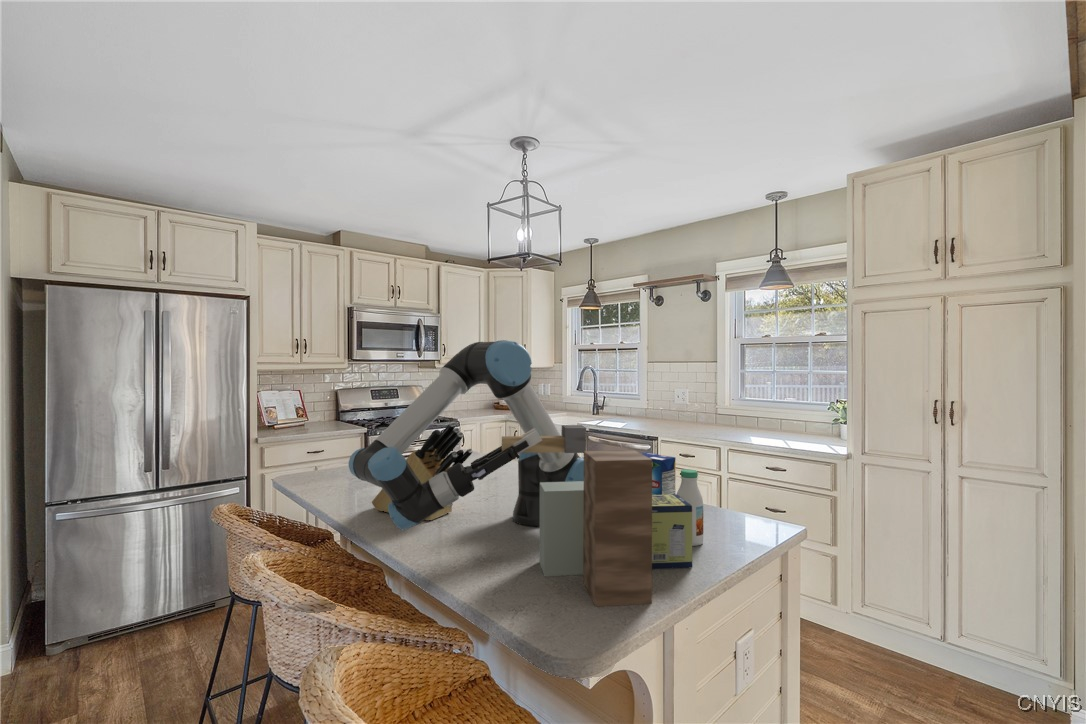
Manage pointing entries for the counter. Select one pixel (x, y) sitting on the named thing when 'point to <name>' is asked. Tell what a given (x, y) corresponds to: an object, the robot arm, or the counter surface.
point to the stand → (617, 527)
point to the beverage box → (662, 474)
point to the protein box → (671, 532)
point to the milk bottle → (693, 503)
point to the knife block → (431, 463)
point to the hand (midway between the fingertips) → (538, 434)
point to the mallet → (555, 441)
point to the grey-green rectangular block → (561, 528)
